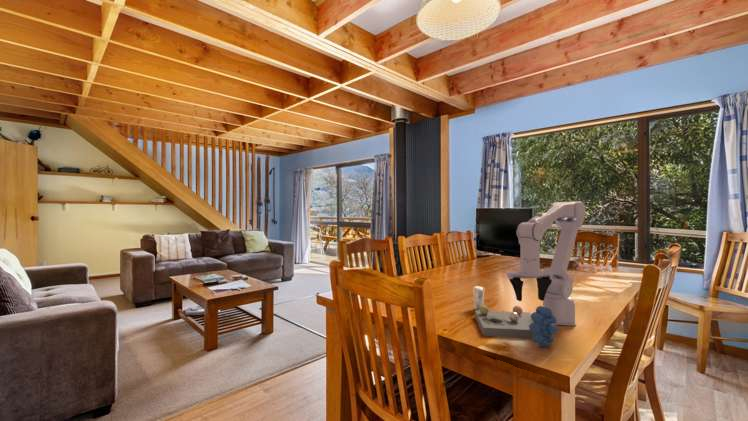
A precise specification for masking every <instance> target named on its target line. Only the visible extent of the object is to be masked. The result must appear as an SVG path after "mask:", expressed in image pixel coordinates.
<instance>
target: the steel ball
mask: <svg viewBox="0 0 748 421" xmlns="http://www.w3.org/2000/svg"><path fill="white" fill-rule="evenodd" d="M510 312H511V313H510V314H509V318H510V320H511V321H512V322H517V321H519V318H520V317H519V315H518V313H516V312H513V311H510Z"/></svg>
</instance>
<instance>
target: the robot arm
mask: <svg viewBox="0 0 748 421" xmlns="http://www.w3.org/2000/svg"><path fill="white" fill-rule="evenodd" d="M586 213H587V210H586V205H585V204H584V202H583V201H581V200H579V201H554V202H553V203H551V204H550V208H549V209H548V210H547V211H546V212H538V213H536V215H535V216H534V217H531V218H530V219H529V220H528V221H526V222H524V221H523V222H521V223H520V224H518V225H517V228H516V231H515V232H516V233H515V234H516V236H517V238H518V244H519V245H520V248H519V250H520V254H519V256H520V261H519V263H520V267H519V268H520V270H517V271H506V272H507V273H506V274H507V275H506V278H507V279H508V280H509V282H510V284H511V286H512V288H513V290H514V295H515V299H516V300H517V301H518V302H523V288H524V287H523V286H524V281H523V280H522V279H535V280H536V287H537V298H538V300H540V301H541V302H542V307H544V308H545V307H548V308H550V309H551V311H552V313H553V314H552V315H553V316H554V317H555V318H556V320H557V322H556V323H555V324H554V325H556V326H573V327H574V326H575V327H576V326H577V324H576V304H575V301H574V299H573V298H572V297H570V296H571V295H572V293H573V283H574V279H573V276H571V275H570V273H568V267H569V263H570V261H571V256H572V252H573V250H574V245H575V241H576V238H577V235H578V230H579V229H580V228H582V227H583V224H584V221H585V217H586V215H587V214H586ZM554 222H555V224H556V226H558V227H559V228H561V231H560V233H559V235H558V236H559V237H558V241H557V243H556V246H555V250H554V253H553V254H554V255H553V258H552V261H551V264H550V266H549V267H548V268H545V269H543V270H540V269H541V267H540V266H541V264H540V260H541V259H540V256H541V255H540V252H541V251H540V249H541V248H540V247H541V245H540V244H541V243H540V242H541V240H542V239H543V237H544V234H545V233H546V231H547V230H549V229H550V228H551V227H552V226H553V224H554Z"/></svg>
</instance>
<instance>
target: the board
mask: <svg viewBox="0 0 748 421" xmlns="http://www.w3.org/2000/svg"><path fill="white" fill-rule="evenodd" d="M511 312H512V311H505V310H502V311H501V310H489V312H488V313H487V314H485V315H484V314H482V313H481V312H480V310H475V309H474V317H475V320H476V322H477V324H478V327H479V328H480V331H481V334H482V336H484V337H486V336H487V337H501V338H503V337H506V338H520V339H521V338H522V339H532V334H533V332H531V330H530V328H529V325H530V324H531V323H533V320H532V319H531V314H532V313H531V312H527V311H526V312H525V311H523V312H522V314H521V315H519V317H520V318H519V321H517V322H512V321H511V320H510V318H509V314H510V313H511Z"/></svg>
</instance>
